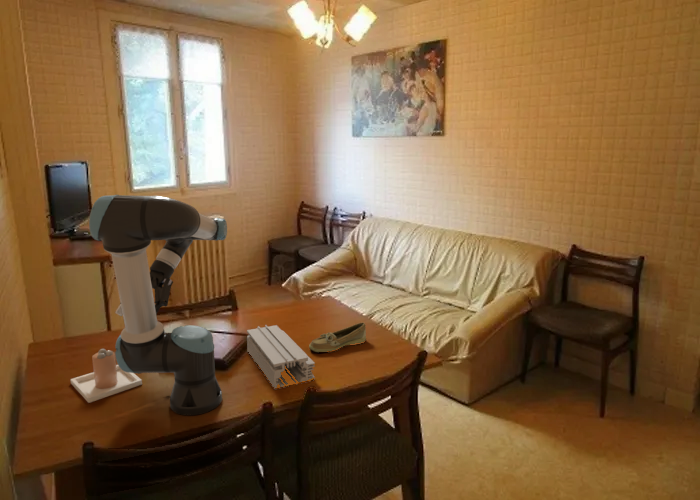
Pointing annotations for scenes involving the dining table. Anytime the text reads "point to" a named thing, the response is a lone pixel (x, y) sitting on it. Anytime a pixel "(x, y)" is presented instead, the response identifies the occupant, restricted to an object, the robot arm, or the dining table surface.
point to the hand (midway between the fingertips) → (131, 318)
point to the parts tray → (91, 393)
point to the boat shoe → (339, 338)
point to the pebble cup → (105, 369)
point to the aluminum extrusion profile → (278, 355)
